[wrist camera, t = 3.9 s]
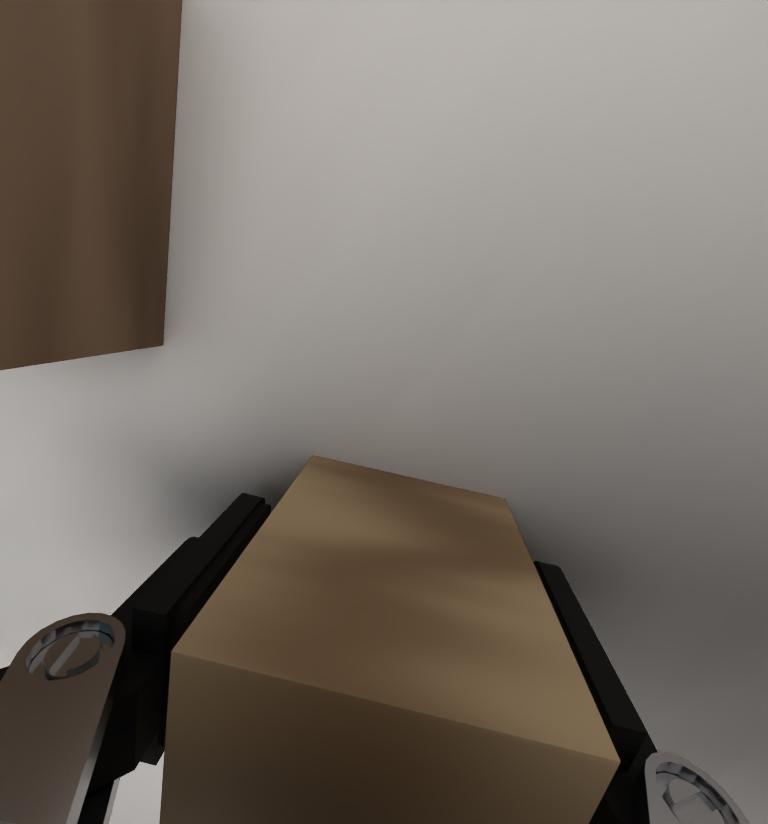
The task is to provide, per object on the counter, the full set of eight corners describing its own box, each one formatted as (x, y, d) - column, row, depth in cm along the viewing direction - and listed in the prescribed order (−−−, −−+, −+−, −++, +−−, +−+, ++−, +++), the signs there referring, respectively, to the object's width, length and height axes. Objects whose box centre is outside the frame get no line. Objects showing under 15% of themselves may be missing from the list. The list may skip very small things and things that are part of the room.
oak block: (504, 497, 10) (621, 762, 4) (455, 650, 11) (492, 1009, 6) (313, 454, 10) (171, 651, 4) (287, 611, 11) (153, 919, 6)
